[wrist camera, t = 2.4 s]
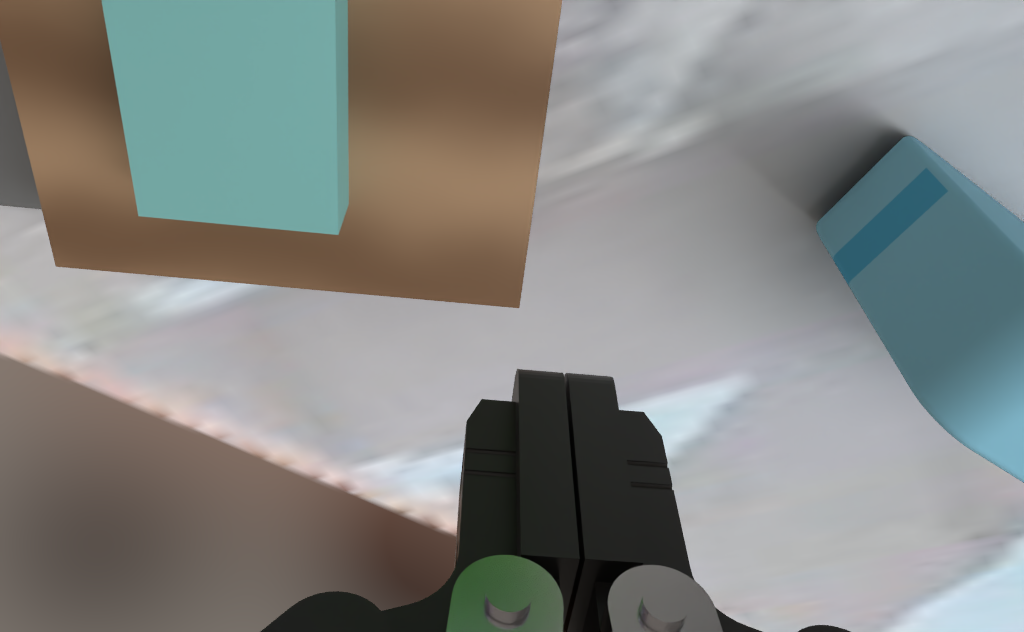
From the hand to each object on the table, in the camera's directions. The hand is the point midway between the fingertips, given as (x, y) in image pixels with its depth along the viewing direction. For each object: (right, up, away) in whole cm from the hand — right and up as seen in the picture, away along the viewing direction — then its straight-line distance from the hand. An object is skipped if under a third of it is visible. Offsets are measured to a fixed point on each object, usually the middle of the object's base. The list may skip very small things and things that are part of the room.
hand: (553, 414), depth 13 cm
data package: (+17, +4, +20) cm, 26 cm away
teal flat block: (-8, +9, +11) cm, 17 cm away
